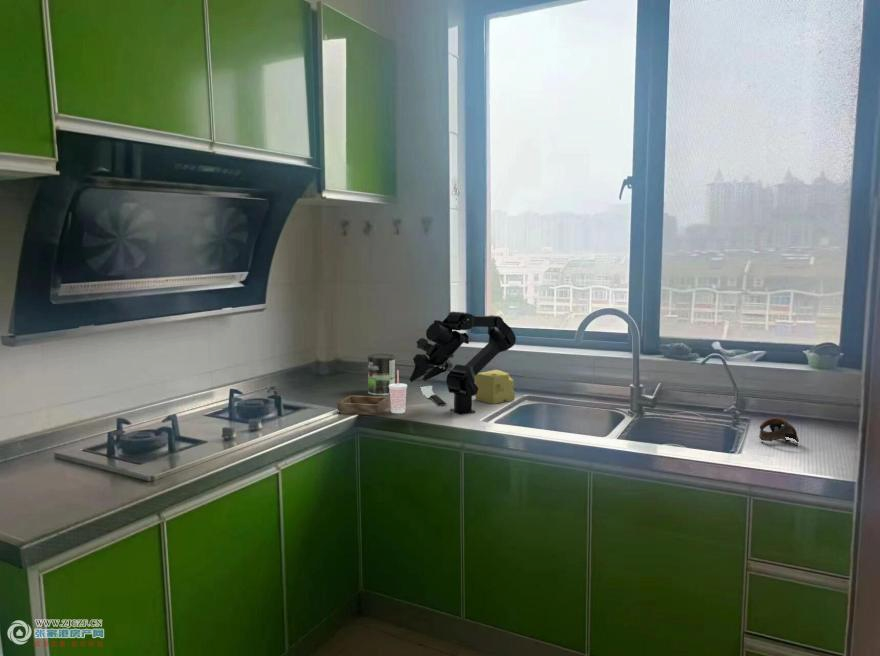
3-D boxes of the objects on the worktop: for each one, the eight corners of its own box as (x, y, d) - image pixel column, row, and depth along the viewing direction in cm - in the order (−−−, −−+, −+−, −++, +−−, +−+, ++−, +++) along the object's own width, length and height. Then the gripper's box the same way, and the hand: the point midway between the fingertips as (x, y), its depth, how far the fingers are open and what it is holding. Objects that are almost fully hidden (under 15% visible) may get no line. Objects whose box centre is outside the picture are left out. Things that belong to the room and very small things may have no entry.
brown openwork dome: (806, 451, 172) (795, 427, 171) (770, 463, 176) (759, 439, 174) (793, 429, 183) (782, 405, 182) (759, 440, 187) (748, 417, 185)
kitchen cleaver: (406, 387, 249) (431, 383, 251) (406, 391, 249) (431, 387, 251) (421, 406, 219) (450, 401, 221) (422, 410, 219) (450, 406, 221)
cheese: (514, 400, 230) (515, 373, 228) (492, 404, 223) (492, 376, 222) (495, 395, 238) (495, 369, 237) (473, 399, 231) (473, 372, 230)
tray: (388, 406, 219) (388, 397, 219) (378, 415, 207) (378, 405, 207) (349, 404, 222) (349, 395, 222) (337, 412, 210) (337, 403, 210)
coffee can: (378, 396, 235) (378, 358, 233) (362, 392, 242) (362, 355, 241) (400, 393, 241) (400, 356, 240) (384, 388, 249) (384, 352, 248)
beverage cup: (397, 408, 217) (397, 367, 215) (411, 411, 213) (411, 369, 211) (385, 411, 212) (384, 370, 210) (398, 414, 208) (398, 372, 206)
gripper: (444, 330, 218) (415, 363, 223) (418, 328, 201) (388, 363, 206) (465, 354, 214) (435, 386, 219) (441, 353, 198) (409, 388, 202)
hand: (417, 380), depth 211 cm, fingers open, 9 cm apart
